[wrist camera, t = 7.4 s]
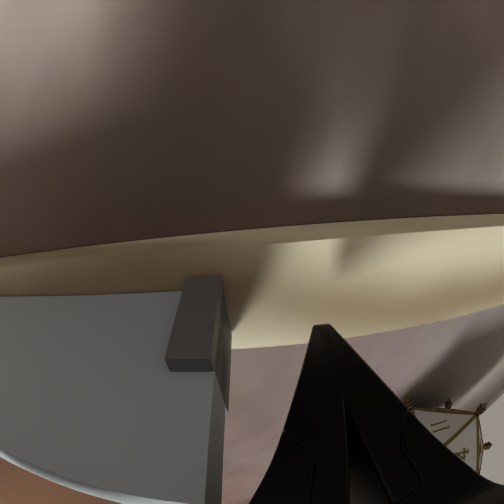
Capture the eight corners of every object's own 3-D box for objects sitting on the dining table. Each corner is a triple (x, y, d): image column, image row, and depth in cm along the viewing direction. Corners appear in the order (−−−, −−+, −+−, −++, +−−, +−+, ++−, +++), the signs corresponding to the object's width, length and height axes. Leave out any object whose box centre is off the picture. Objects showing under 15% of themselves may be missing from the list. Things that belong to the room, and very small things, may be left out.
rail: (499, 289, 10) (543, 345, 7) (-4, 324, 11) (-37, 375, 8) (523, 213, 9) (583, 262, 5) (-37, 263, 9) (-81, 311, 6)
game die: (408, 352, 18) (531, 380, 8) (436, 419, 18) (526, 453, 9) (310, 444, 16) (411, 537, 6) (358, 495, 16) (437, 561, 7)
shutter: (232, 335, 10) (224, 519, 4) (-7, 328, 10) (-60, 419, 5) (220, 275, 8) (197, 499, 3) (-29, 288, 9) (-95, 379, 4)
